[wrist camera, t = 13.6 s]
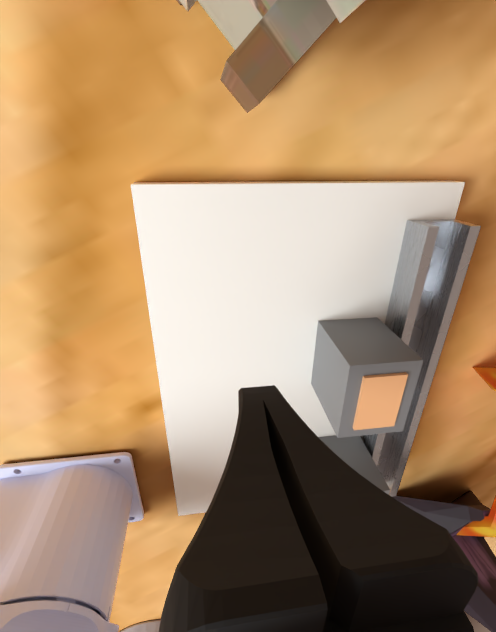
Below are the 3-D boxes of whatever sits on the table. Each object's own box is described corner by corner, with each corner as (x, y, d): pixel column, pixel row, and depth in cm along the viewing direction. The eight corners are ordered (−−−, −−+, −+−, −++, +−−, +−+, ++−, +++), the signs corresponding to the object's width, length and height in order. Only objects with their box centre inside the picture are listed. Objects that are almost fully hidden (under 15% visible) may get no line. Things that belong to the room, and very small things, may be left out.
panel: (179, 502, 29) (178, 515, 28) (134, 182, 17) (130, 184, 16) (373, 478, 31) (379, 489, 30) (450, 180, 19) (465, 182, 18)
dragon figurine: (700, 423, 20) (572, 723, 25) (511, 354, 31) (451, 568, 36) (554, 423, 18) (450, 747, 23) (411, 350, 29) (364, 576, 35)
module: (310, 383, 23) (338, 440, 19) (318, 320, 21) (351, 368, 16) (364, 379, 24) (404, 433, 19) (377, 317, 22) (425, 362, 17)
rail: (351, 479, 29) (361, 500, 27) (407, 220, 19) (428, 227, 17) (383, 475, 29) (395, 496, 27) (454, 219, 19) (480, 225, 17)
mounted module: (304, 480, 28) (324, 546, 23) (309, 437, 26) (333, 500, 21) (348, 475, 28) (378, 538, 24) (357, 432, 26) (391, 492, 22)
